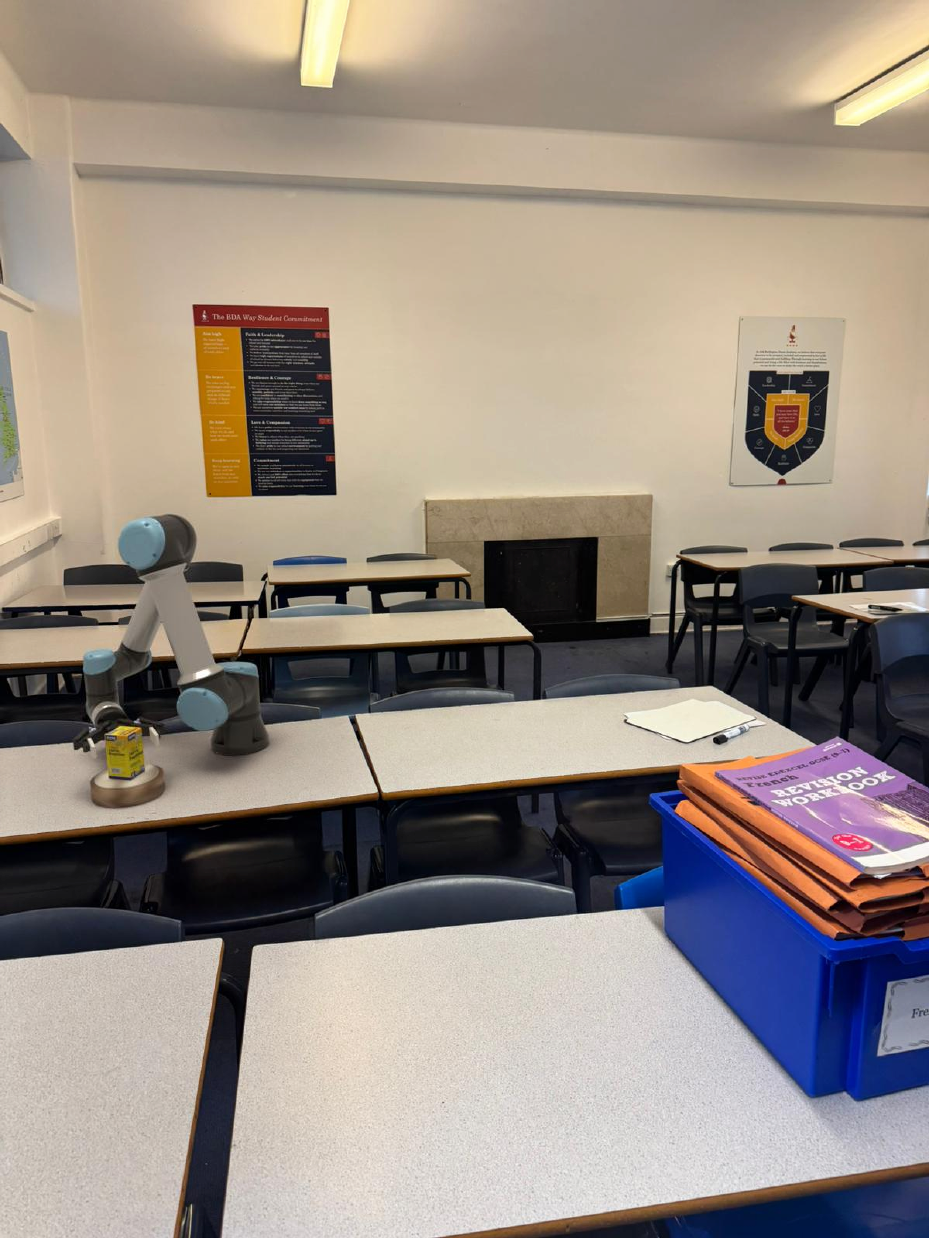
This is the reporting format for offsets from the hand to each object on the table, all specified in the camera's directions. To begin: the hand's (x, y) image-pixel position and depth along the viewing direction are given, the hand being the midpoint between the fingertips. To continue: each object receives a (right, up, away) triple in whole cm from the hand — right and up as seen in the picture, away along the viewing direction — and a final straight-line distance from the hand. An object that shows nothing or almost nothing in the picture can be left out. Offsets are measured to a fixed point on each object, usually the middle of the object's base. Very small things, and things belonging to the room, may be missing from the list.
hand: (126, 746), depth 185 cm
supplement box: (-2, -8, +4) cm, 9 cm away
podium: (-2, -12, +5) cm, 13 cm away
